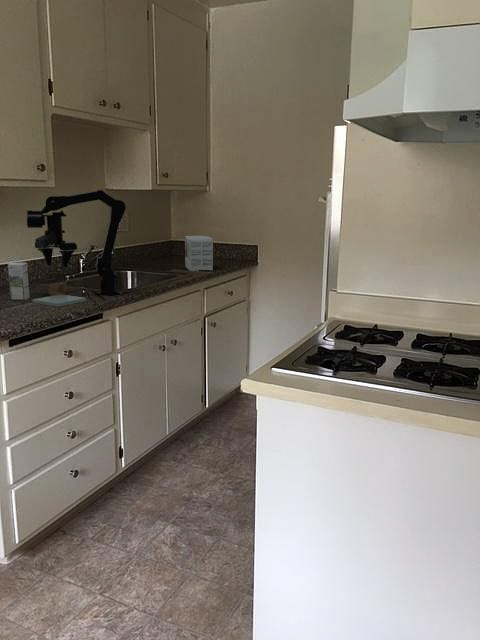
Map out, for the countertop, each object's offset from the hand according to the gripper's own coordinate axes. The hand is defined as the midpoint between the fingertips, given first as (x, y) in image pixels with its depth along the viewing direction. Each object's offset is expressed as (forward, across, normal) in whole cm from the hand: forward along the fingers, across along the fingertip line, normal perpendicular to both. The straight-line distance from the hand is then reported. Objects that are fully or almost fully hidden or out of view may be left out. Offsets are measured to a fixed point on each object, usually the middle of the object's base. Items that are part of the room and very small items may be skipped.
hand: (56, 266), depth 226 cm
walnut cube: (+12, 0, 0) cm, 12 cm away
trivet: (+12, +10, -9) cm, 18 cm away
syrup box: (+12, -7, -14) cm, 19 cm away
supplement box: (+12, -2, +103) cm, 104 cm away
